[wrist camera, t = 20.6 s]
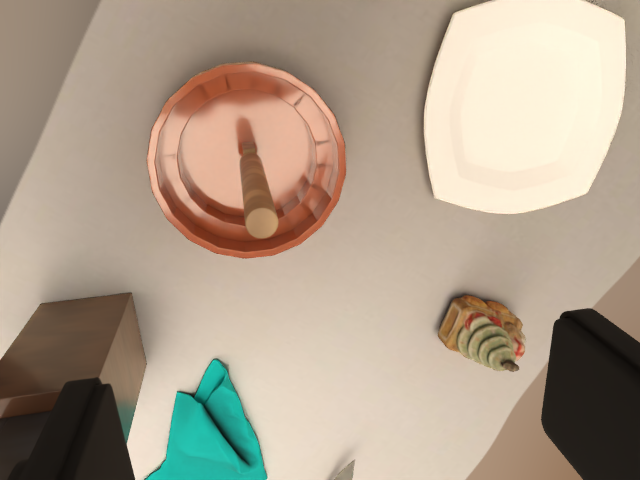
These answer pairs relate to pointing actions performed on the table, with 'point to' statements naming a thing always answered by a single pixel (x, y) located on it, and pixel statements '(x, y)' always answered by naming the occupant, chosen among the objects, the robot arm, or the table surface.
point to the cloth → (211, 435)
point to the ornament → (483, 333)
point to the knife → (346, 472)
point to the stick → (256, 195)
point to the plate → (523, 103)
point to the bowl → (226, 151)
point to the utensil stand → (67, 366)
